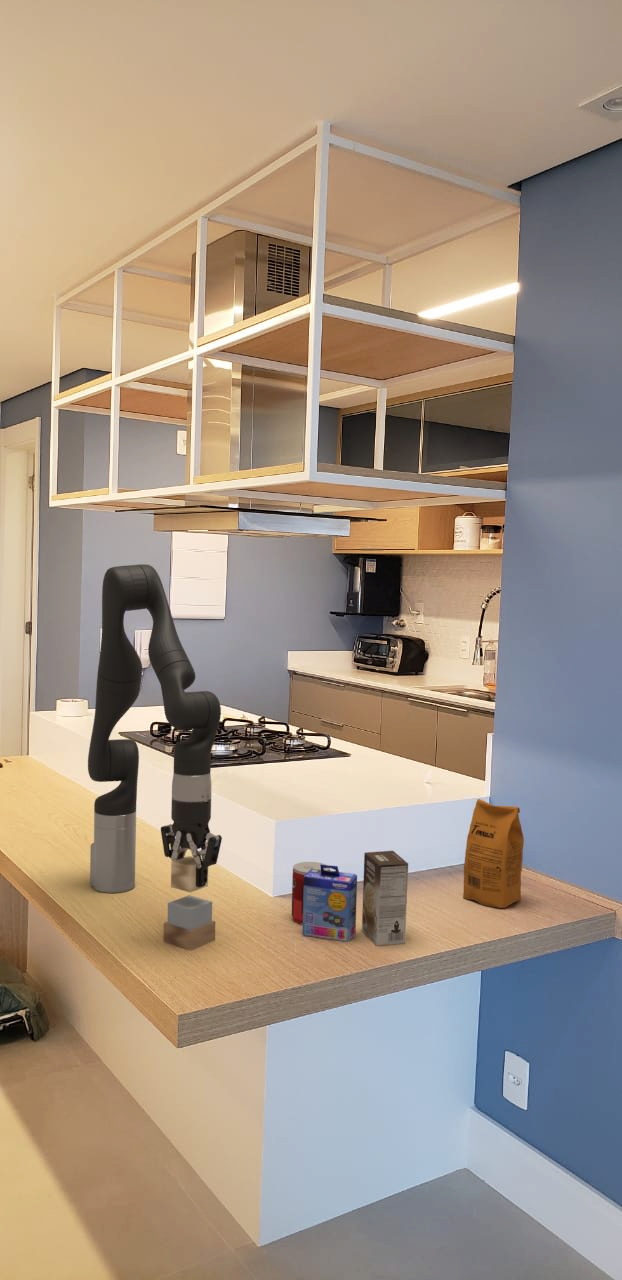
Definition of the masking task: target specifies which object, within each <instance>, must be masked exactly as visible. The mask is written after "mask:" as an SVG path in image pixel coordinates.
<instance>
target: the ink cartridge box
mask: <svg viewBox="0 0 622 1280" xmlns="http://www.w3.org/2000/svg"><path fill="white" fill-rule="evenodd" d="M320 866H321V870H318V869H311V870H310V871H309V872H308V873H306V874H305V876H304V893H303V924H302V930H301V931H302V934H301V935H302V936H306V937H313V938H319V939H327V940H332V941H333V940H334V941H340V942H350V940H352V939H353V937H354V936H355V935H356V933H357V932H356V931H357V930H356V929H357V924H356V923H357V899H358V898H357V895H358V893H357V892H358V891H357V890H358V875H357V874H356V873H351V872H342V871H341V872H340V870H339V867H338V866H337V865H329V864H326V865H322V864H320ZM324 868H330V870H324ZM331 869H332V870H331Z"/></svg>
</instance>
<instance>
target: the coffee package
mask: <svg viewBox="0 0 622 1280" xmlns="http://www.w3.org/2000/svg"><path fill="white" fill-rule="evenodd" d="M519 813H521V810H520V807H518V806H509V805H506V806H505V805H494V804H491V803H489V802H487V801H485V800H484V799H481V798H478V799H477V800H476V802H475V807H474V809H473V813H472V818H471V821H470V825H469V831H468V833H467V838H466V847H465V854H464V855H465V856H464V863H463V893H462V895H463V896H462V899H465V900H473V901H475V902H477V903H479V904H480V905H482V906H485V907H493V908H498V909H505V908H507V907H509V906H510V905H512V904H513V903H515V902H518V901H520V899H521V898H522V890H521V888H522V878H521V875H522V871H523V858H524V856H523V855H524V841H525V838H524V833H523V829H522V824H521V821H520V817H519V816H520V815H519Z"/></svg>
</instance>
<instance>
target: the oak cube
mask: <svg viewBox="0 0 622 1280" xmlns="http://www.w3.org/2000/svg"><path fill="white" fill-rule="evenodd" d="M202 861H203V860H202ZM170 863H171V864H170V865H171V867H170V869H171V870H170V873H171V874H170V888H173V889H176V890H179V891H184V892H187V893H193V892H196V891H199V890H202V889H204V888H207V887H209V870H208V871H207V883H206V884H205V886H203V887H200V888H199V887H196V868H197V866H196V861H195V858H194V857H193V856H192V855H191V856H190V855H188V856H185V857H184V858H181V859H178V860H175V861H172V860H171V862H170Z"/></svg>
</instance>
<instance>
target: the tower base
mask: <svg viewBox="0 0 622 1280" xmlns="http://www.w3.org/2000/svg"><path fill="white" fill-rule="evenodd" d="M162 935H163V940H162V942H163V943H165V944H168V945H171V946H175V947H178V948H180V949H184V950H186V951H194V950H196V949H198V948H200V947H202V946H205V945H207V944H209V943H212V942H214V941H216V921H215V920H213V919H212V922H211V923H208V924H206V925H203V926H201V927H199V928H196V929H194V930H187V929H184V928H181V927H178V926H174V925H171V924H168V921H165V922H163V934H162Z"/></svg>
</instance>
